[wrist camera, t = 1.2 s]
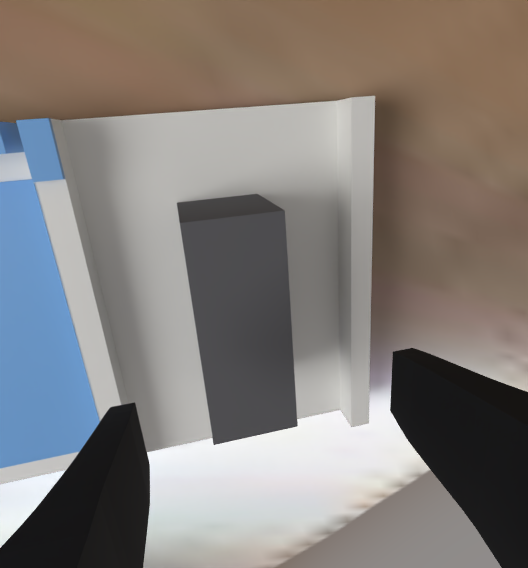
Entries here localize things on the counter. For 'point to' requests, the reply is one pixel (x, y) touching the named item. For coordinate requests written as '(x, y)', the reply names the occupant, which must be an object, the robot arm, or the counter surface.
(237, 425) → the dark gray rectangular block
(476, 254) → the counter surface
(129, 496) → the robot arm
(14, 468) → the tray
